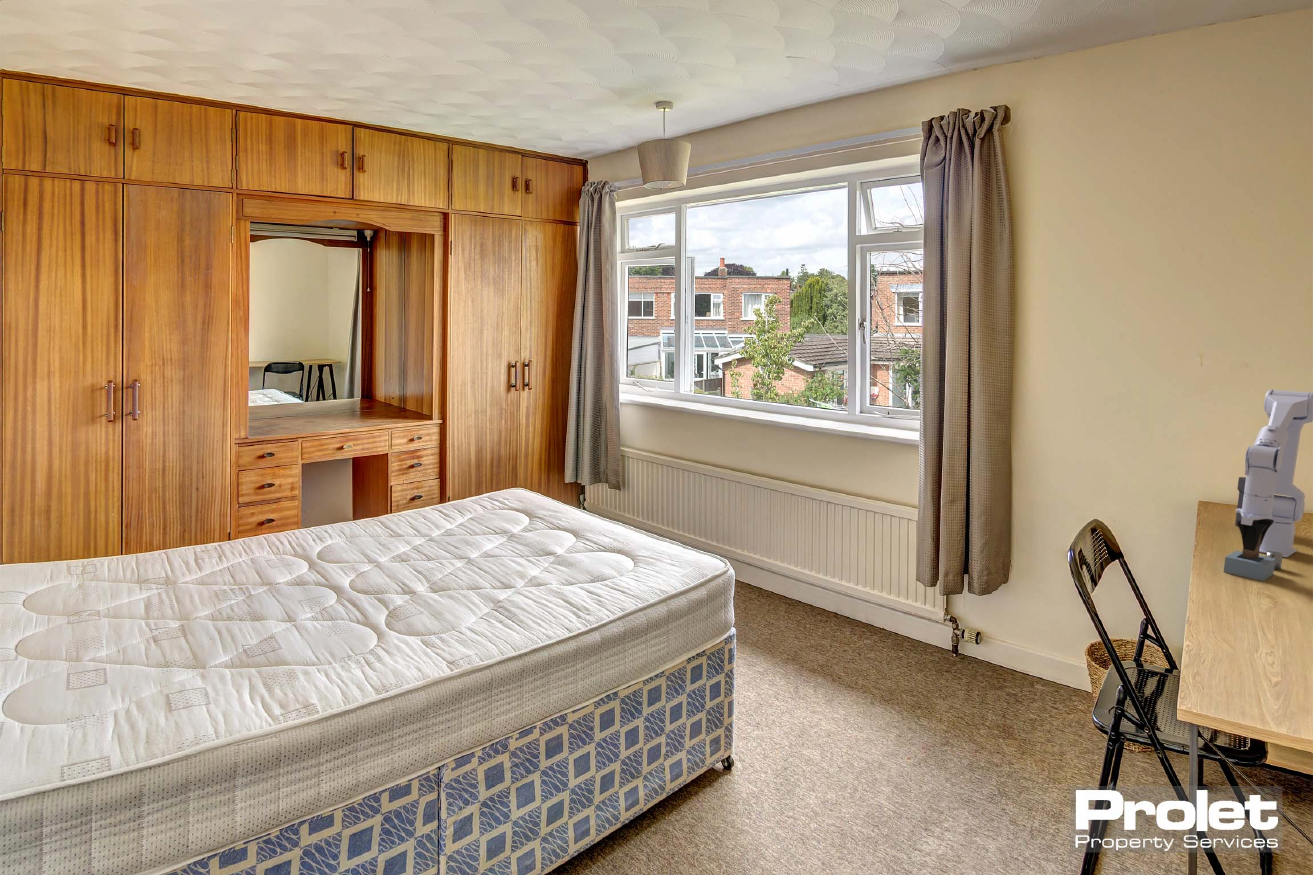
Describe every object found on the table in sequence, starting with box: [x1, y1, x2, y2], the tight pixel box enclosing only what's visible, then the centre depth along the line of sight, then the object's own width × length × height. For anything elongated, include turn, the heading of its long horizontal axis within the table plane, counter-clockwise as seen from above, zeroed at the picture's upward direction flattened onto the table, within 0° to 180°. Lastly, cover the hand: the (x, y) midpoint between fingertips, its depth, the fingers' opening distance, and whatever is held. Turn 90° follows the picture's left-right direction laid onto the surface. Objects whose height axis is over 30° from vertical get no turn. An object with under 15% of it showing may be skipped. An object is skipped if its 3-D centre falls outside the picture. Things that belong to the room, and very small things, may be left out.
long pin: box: [1241, 533, 1262, 559], centre depth 184 cm, size 3×3×7 cm
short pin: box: [1265, 551, 1284, 571], centre depth 189 cm, size 3×3×4 cm
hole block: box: [1223, 550, 1275, 582], centre depth 185 cm, size 8×8×4 cm
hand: (1251, 548), depth 185 cm, fingers closed on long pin, 3 cm apart
